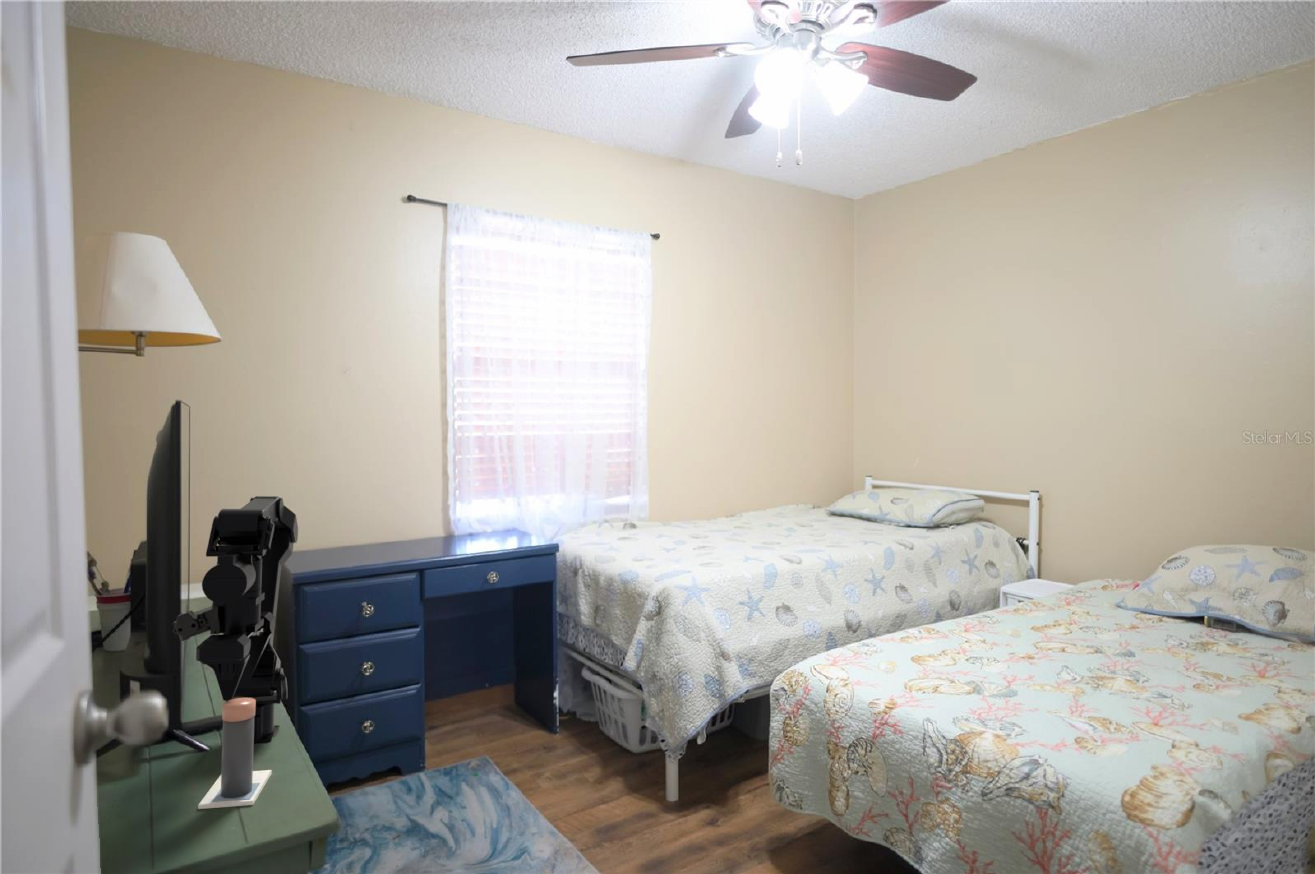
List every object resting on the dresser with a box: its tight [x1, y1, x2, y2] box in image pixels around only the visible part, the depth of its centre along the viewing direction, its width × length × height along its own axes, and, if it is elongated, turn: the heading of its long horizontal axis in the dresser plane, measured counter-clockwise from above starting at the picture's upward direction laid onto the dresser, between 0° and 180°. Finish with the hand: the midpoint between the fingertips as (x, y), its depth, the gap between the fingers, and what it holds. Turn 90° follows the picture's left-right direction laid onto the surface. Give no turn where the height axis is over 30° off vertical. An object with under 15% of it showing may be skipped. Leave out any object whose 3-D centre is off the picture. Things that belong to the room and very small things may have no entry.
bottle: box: [220, 698, 256, 798], centre depth 109 cm, size 4×4×13 cm
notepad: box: [197, 769, 273, 810], centre depth 111 cm, size 10×7×1 cm
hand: (237, 690), depth 116 cm, fingers open, 9 cm apart
